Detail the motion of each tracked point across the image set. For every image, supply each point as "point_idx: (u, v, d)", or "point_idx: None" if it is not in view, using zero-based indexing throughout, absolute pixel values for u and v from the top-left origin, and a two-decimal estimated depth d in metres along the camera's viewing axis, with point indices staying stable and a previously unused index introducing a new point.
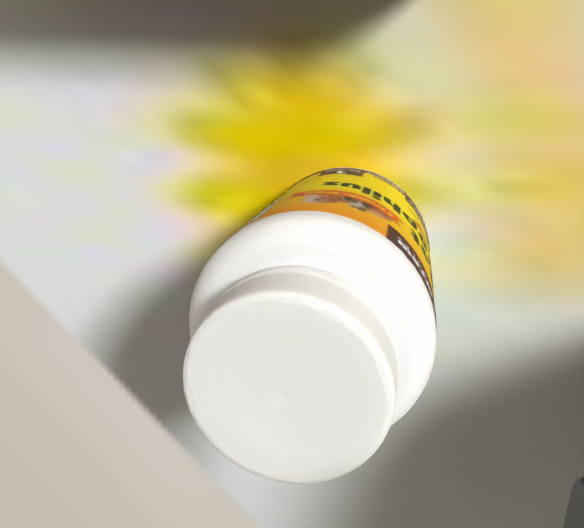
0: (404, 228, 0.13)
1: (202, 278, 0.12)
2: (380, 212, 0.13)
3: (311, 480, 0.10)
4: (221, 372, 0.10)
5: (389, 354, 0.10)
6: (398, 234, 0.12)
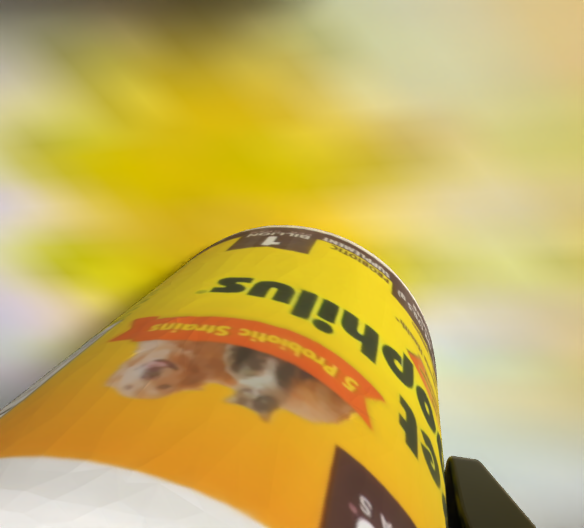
0: (382, 422, 0.06)
1: None
2: (321, 394, 0.05)
3: None
4: None
5: None
6: (362, 481, 0.05)
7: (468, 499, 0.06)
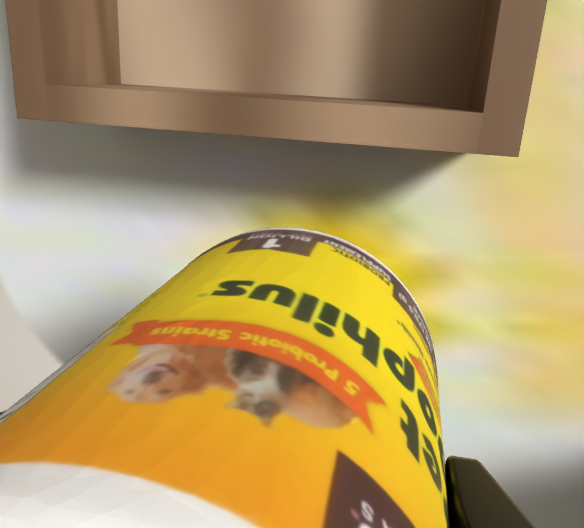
0: (384, 427, 0.06)
1: None
2: (322, 398, 0.05)
3: None
4: None
5: None
6: (364, 486, 0.05)
7: (467, 499, 0.06)
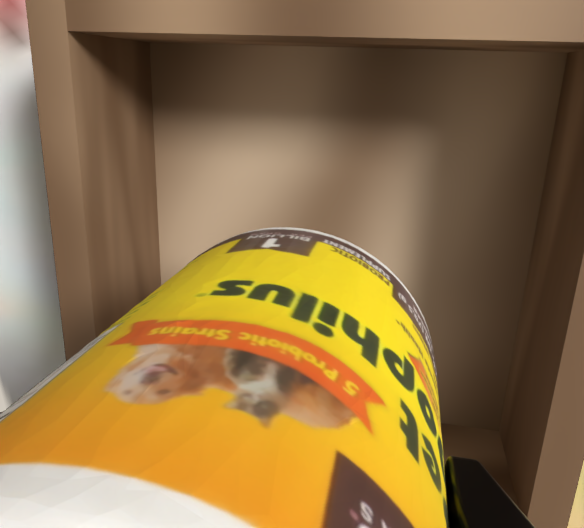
0: (383, 427, 0.05)
1: None
2: (321, 398, 0.05)
3: None
4: None
5: None
6: (363, 487, 0.04)
7: (467, 499, 0.06)
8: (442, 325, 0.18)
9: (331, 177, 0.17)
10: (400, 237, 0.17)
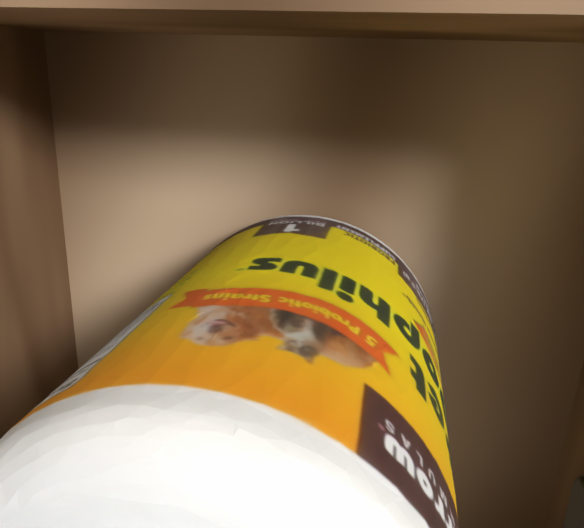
0: (398, 371, 0.07)
1: None
2: (349, 346, 0.06)
3: None
4: None
5: None
6: (386, 410, 0.06)
7: None
8: (459, 427, 0.13)
9: None
10: None
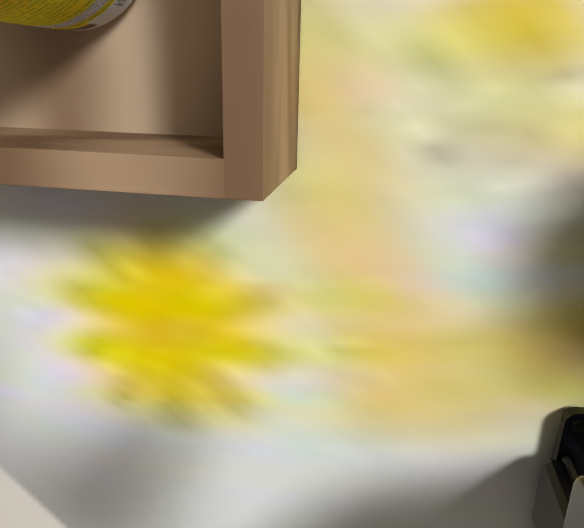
0: None
1: None
2: None
3: None
4: None
5: None
6: None
7: None
8: (191, 13, 0.17)
9: None
10: None
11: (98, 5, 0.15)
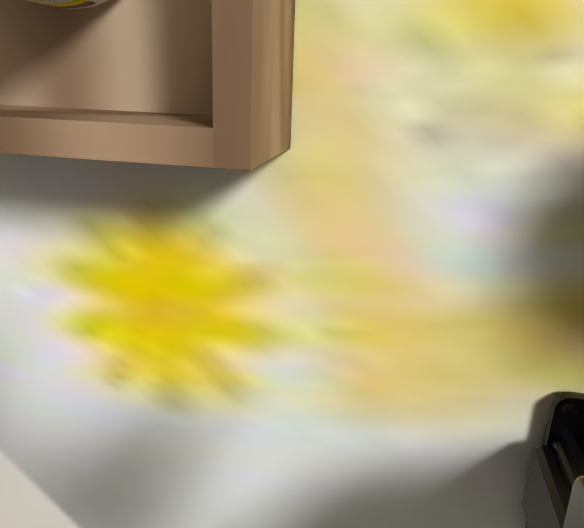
0: None
1: None
2: None
3: None
4: None
5: None
6: None
7: None
8: None
9: None
10: None
11: None
